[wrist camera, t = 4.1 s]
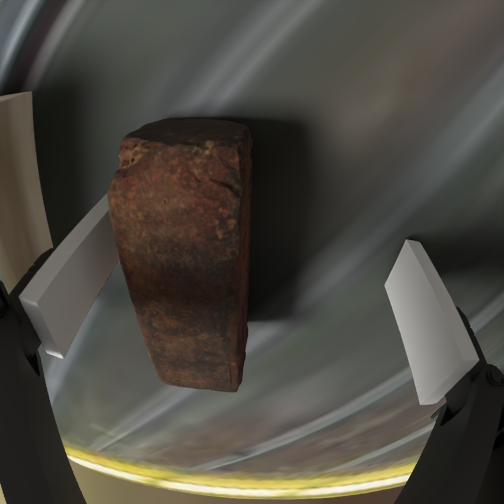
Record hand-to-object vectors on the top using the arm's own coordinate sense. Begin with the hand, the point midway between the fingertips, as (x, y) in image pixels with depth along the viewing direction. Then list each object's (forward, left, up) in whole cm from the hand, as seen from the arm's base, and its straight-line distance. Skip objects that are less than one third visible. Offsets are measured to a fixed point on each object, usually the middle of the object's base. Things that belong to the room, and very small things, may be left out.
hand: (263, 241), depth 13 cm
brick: (+2, 0, -1) cm, 2 cm away
